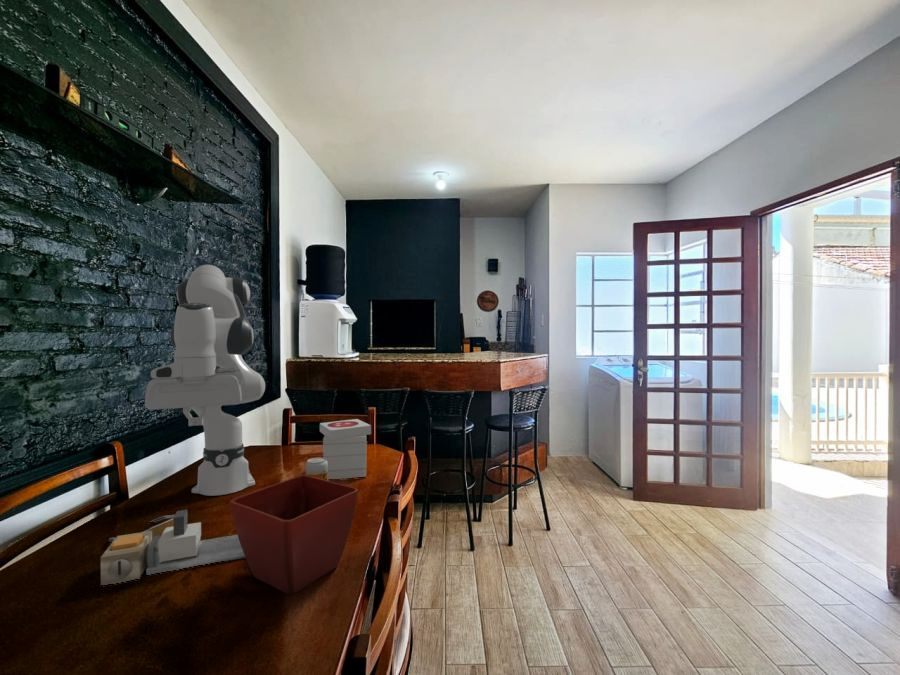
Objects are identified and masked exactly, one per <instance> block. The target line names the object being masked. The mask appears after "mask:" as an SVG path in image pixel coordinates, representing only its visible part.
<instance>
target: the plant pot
mask: <svg viewBox="0 0 900 675" xmlns="http://www.w3.org/2000/svg"><path fill="white" fill-rule="evenodd" d="M358 491H359V490H358V488H356V487H352V486H349V485H345V484H341V483H337V482H334V481H331V480H328V481H327V480H323V479H319V478H315V477H312V476H308V475H306V474H301V475H297V476H294V477H292V478H288V479H286V480H283V481H280V482H277V483H275V484H272V485H269V486H266V487H263V488H261V489H258V490H255V491H252V492H249V493H246V494H243V495H240V496H238V497H235V498H232V499H230V501H229V505H230V511H231V515H232V516H231V517H232V520H233V524H234V527H235V532H236V535H238V538H239V541H240V544H241V547H242V550H243V552H244V555H245V557H246V558H245V559H246V562H247V564H248V566H249V568H250V571H251V572H252V575H253V577H254V578H256V579H257V580H259V581H260V582H263V583H265V584H267V585H269V586H271V587H273V588H275V589H277V590H278V591H281V592H283V593H285V594H287V595H294V594H297V592H300V591H301V590H302V589H304V588H306V587H307V586H309V585H310V584H312V583H314V582H315V581H317V580H318V579H320V578H321V577H323V576H324V575H326V574H328V573H330V572H331V571H333V570H335V569H336V568H338V566H339V565H340V564H339V563H340V561H341V559H342V557H343V553H344V550H345V548H346V544H347V541H348V538H349V534H350V531H351V528H352V524H353V520H354V515H355V510H356V503H357V499H358Z"/></svg>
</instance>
